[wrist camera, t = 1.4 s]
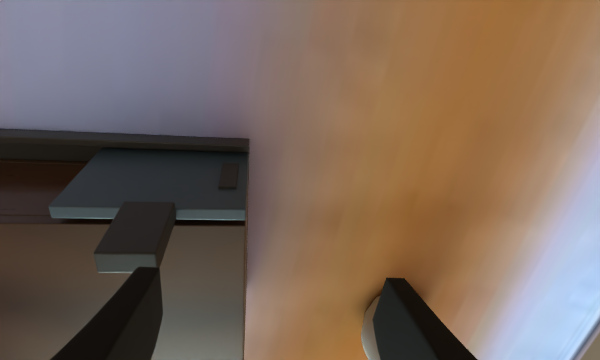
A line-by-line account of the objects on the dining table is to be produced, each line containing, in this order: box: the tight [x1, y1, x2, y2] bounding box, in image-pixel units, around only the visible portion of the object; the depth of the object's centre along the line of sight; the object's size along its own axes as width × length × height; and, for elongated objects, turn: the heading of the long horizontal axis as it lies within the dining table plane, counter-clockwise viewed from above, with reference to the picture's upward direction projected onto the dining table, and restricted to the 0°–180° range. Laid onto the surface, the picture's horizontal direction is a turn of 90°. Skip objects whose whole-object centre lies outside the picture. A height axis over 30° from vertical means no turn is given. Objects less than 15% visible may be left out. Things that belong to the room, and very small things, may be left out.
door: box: [48, 148, 249, 273], centre depth 16 cm, size 1×8×9 cm, turn 85°
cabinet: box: [0, 129, 249, 360], centre depth 19 cm, size 12×15×6 cm
